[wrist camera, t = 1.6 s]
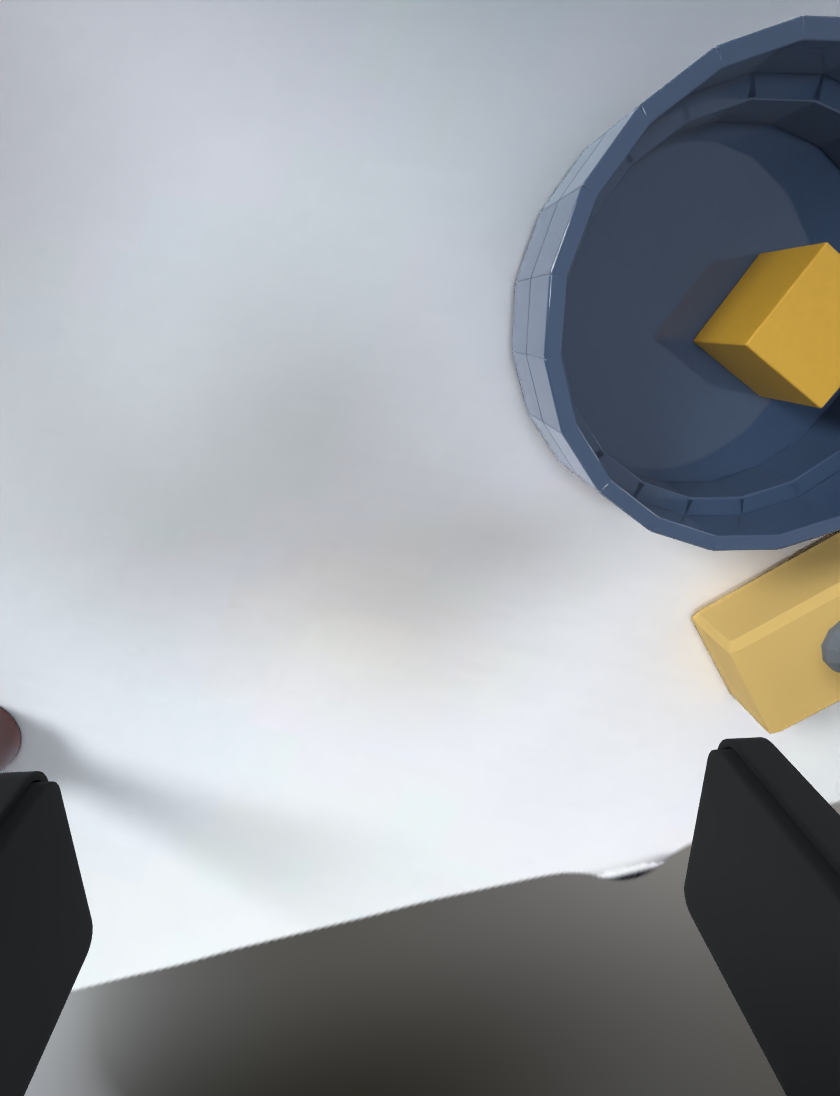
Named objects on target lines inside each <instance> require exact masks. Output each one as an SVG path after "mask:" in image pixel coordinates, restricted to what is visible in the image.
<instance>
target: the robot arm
mask: <svg viewBox="0 0 840 1096" xmlns="http://www.w3.org/2000/svg"><path fill="white" fill-rule="evenodd" d="M684 893H685V899H686V904H687V907H688V910H689V912H690V914H691V916H692V918H693V920H694V922H695V924H696V926H697V928H698V930H699V932H700V933H701V935H702V937H703V939H704V941H705V943H706V945H707V947H708V948H709V950H710V952H711V954H712V956H713V958H714V960H715V962H716V963H717V965H718V967H719V969H720V971H721V973H722V975H723V977H724V979H725V981H726V982H727V984H728V986H729V988H730V990H731V992H732V994H733V995H734V997H735V999H736V1001H737V1003H738V1005H739V1007H740V1009H741V1011H742V1013H743V1014H744V1016H745V1018H746V1020H747V1022H748V1024H749V1026H750V1028H751V1029H752V1031H753V1033H754V1035H755V1037H756V1039H757V1041H758V1043H759V1044H760V1046H761V1048H762V1050H763V1052H764V1054H765V1056H766V1057H767V1060H768V1062H769V1063H770V1065H771V1067H772V1069H773V1071H774V1073H775V1075H776V1077H777V1078H778V1080H779V1082H780V1084H781V1086H782V1088H783V1089H784V1092H785V1094H786V1095H787V1096H840V815H839V814H838V813H837V812H836V811H835V810H834V809H833V808H832V807H831V806H830V805H829V803H828V802H827V801H826V800H825V799H824V798H823V797H822V796H821V795H820V794H819V793H818V792H817V791H816V790H815V788H814V787H813V786H812V785H811V784H810V783H809V782H808V781H807V780H806V779H805V778H804V777H803V776H802V775H801V774H800V772H799V771H798V770H797V769H796V768H795V767H794V766H793V765H792V764H791V763H790V762H789V761H788V760H787V759H786V757H785V756H784V755H783V754H782V753H781V752H780V751H779V750H778V749H777V748H776V747H775V746H774V745H773V744H772V743H771V742H770V741H769V740H768V739H766V738H762V737H757V738H735V739H725V740H722V742H721V743H720V744H719V747H718V750H712V751H711V752H710V753H709V756H708V760H707V766H706V771H705V776H704V782H703V787H702V793H701V798H700V803H699V809H698V814H697V820H696V825H695V830H694V836H693V841H692V847H691V852H690V857H689V863H688V869H687V874H686V880H685V885H684ZM92 929H93V926H92V919H91V915H90V911H89V907H88V903H87V898H86V894H85V890H84V886H83V882H82V878H81V874H80V870H79V865H78V861H77V857H76V853H75V849H74V845H73V841H72V836H71V832H70V828H69V824H68V820H67V816H66V812H65V808H64V803H63V799H62V795H61V791H60V788H59V785H58V784H57V783H56V782H48V779H47V777H46V775H45V774H44V773H43V772H39V771H32V772H11V773H0V1096H24V1094H25V1092H26V1090H27V1088H28V1085H29V1083H30V1081H31V1079H32V1077H33V1074H34V1072H35V1070H36V1067H37V1065H38V1063H39V1061H40V1059H41V1056H42V1054H43V1052H44V1050H45V1047H46V1045H47V1043H48V1041H49V1038H50V1036H51V1034H52V1032H53V1030H54V1027H55V1025H56V1023H57V1021H58V1018H59V1016H60V1014H61V1011H62V1009H63V1007H64V1005H65V1003H66V1000H67V998H68V996H69V994H70V992H71V989H72V987H73V985H74V983H75V980H76V978H77V976H78V974H79V971H80V969H81V967H82V965H83V962H84V960H85V958H86V956H87V953H88V951H89V948H90V944H91V939H92Z"/></svg>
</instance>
